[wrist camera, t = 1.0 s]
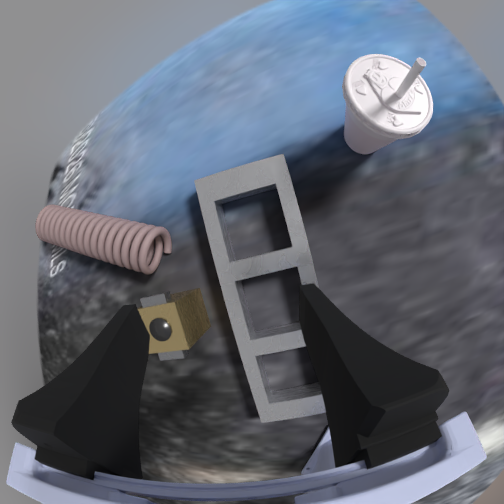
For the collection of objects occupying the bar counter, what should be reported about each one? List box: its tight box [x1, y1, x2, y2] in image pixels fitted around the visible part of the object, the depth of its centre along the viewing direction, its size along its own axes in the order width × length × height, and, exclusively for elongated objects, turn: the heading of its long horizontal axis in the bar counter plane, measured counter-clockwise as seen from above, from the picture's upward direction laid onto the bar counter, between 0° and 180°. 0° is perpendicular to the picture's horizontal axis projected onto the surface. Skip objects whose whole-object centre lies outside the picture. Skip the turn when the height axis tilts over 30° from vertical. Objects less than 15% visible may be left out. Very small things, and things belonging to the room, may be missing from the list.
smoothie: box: [342, 54, 433, 154], centre depth 17 cm, size 6×6×14 cm
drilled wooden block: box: [137, 288, 211, 361], centre depth 24 cm, size 6×4×6 cm
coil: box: [36, 205, 172, 275], centre depth 26 cm, size 5×5×18 cm
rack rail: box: [195, 154, 326, 423], centre depth 25 cm, size 24×8×2 cm, turn 15°
